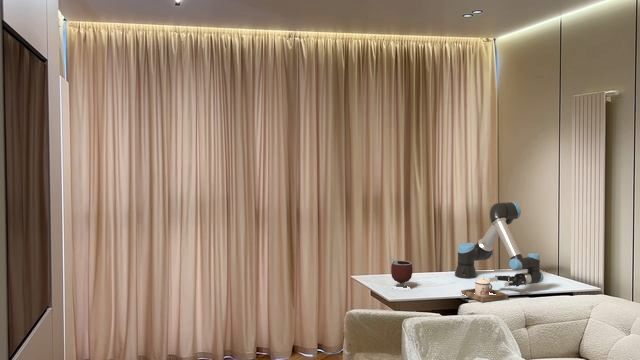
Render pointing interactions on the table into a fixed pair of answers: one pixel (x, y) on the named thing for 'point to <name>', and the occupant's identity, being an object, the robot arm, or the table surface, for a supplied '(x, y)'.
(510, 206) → the robot arm
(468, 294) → the tray
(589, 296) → the table surface
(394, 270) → the mate gourd
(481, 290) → the teacup with lid
